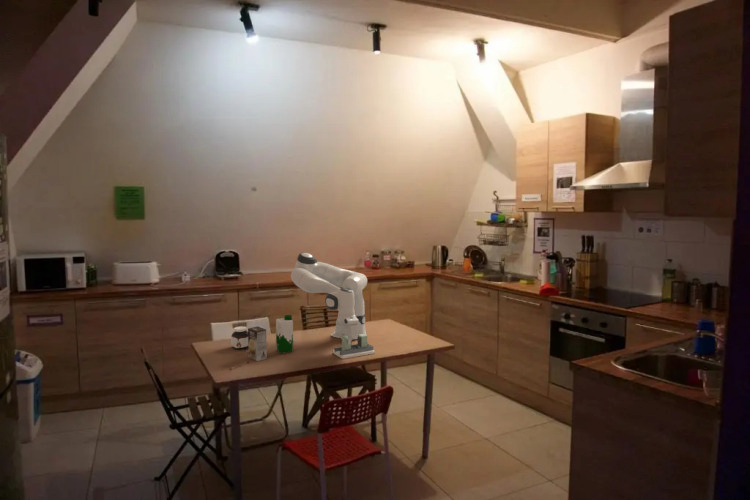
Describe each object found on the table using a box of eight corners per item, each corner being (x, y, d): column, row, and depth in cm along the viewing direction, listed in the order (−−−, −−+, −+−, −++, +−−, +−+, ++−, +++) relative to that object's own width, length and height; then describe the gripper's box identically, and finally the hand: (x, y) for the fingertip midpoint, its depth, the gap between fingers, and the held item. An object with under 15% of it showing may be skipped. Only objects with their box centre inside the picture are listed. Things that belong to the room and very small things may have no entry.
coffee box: (247, 357, 272) (247, 328, 271) (258, 354, 277) (257, 326, 275) (256, 361, 266) (256, 331, 264) (267, 358, 270) (266, 329, 269)
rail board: (342, 358, 271) (342, 341, 270) (332, 352, 281) (332, 336, 280) (374, 353, 281) (374, 336, 280) (364, 347, 291) (364, 331, 290)
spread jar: (229, 348, 288) (228, 328, 287) (241, 343, 298) (240, 324, 297) (247, 351, 284) (247, 330, 283) (258, 345, 294) (258, 326, 293)
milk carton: (294, 352, 282) (294, 317, 280) (278, 354, 278) (277, 318, 276) (290, 348, 290) (290, 313, 288) (275, 349, 286) (274, 315, 284)
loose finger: (345, 353, 276) (345, 338, 275) (341, 351, 280) (341, 336, 279) (351, 352, 278) (351, 337, 277) (348, 350, 282) (348, 335, 281)
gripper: (333, 314, 284) (333, 338, 285) (349, 322, 266) (349, 348, 268) (343, 313, 287) (343, 337, 289) (360, 321, 269) (360, 346, 271)
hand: (346, 342), depth 278 cm, fingers open, 5 cm apart
